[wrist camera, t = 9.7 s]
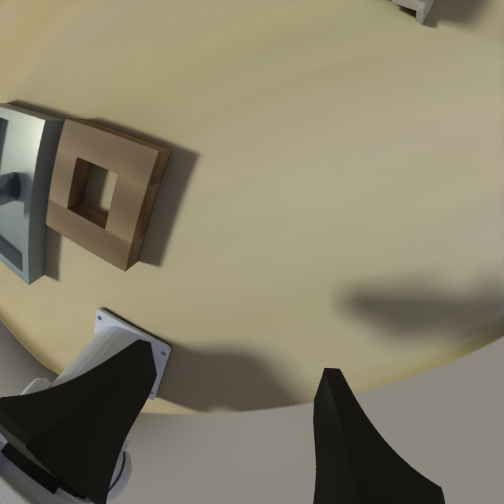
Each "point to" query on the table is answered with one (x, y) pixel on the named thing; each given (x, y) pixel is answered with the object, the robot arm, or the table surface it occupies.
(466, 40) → the table surface
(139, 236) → the holder
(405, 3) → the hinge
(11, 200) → the pin
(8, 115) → the tray
